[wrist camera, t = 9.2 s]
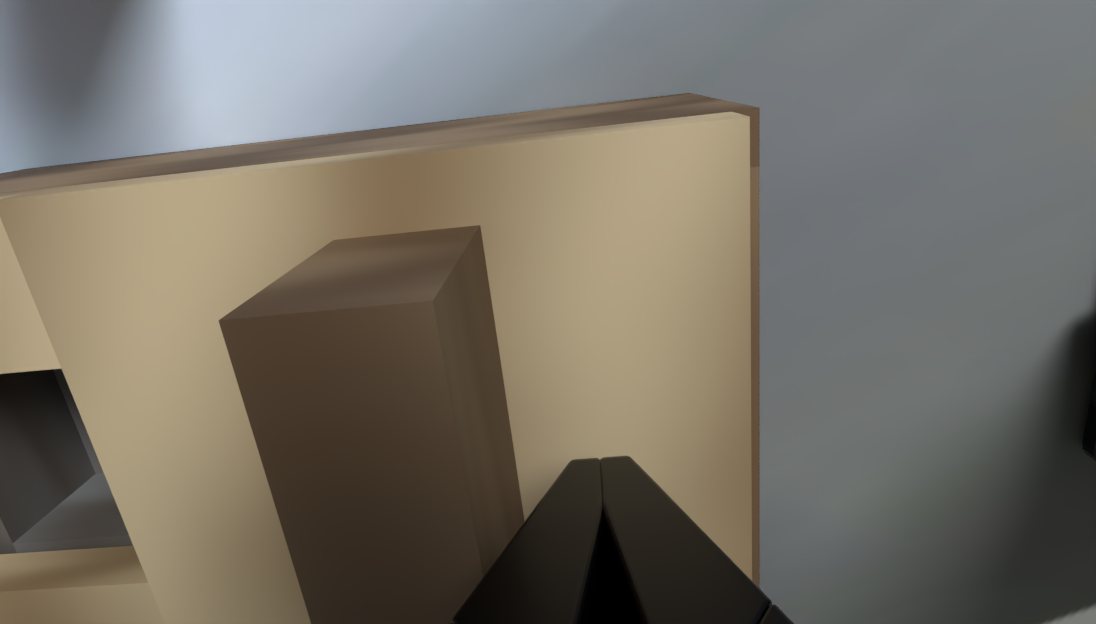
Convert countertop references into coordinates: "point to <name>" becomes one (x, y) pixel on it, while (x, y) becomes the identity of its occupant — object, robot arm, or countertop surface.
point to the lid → (382, 363)
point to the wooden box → (44, 396)
